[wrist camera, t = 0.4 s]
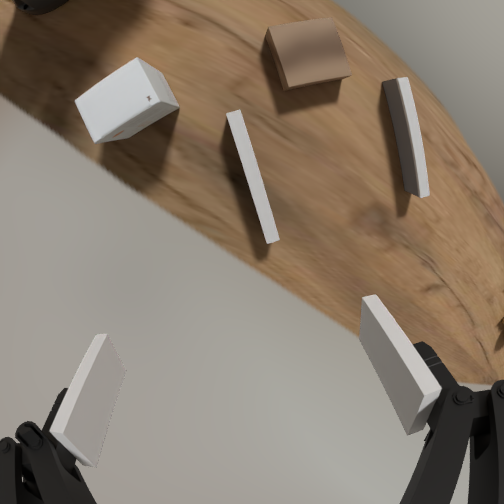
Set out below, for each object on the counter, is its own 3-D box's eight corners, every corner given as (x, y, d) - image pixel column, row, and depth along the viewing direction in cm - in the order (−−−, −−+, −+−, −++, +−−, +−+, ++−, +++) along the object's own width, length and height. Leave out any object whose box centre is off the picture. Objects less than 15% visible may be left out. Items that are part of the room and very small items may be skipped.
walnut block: (264, 36, 31) (268, 26, 27) (322, 26, 31) (331, 17, 27) (283, 91, 34) (289, 87, 31) (341, 79, 34) (352, 75, 30)
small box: (162, 72, 32) (138, 54, 22) (181, 108, 34) (162, 101, 24) (110, 104, 33) (72, 100, 23) (127, 139, 35) (93, 144, 25)
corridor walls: (226, 115, 35) (225, 113, 31) (391, 80, 33) (407, 77, 29) (263, 231, 41) (267, 243, 37) (413, 188, 40) (429, 195, 35)
